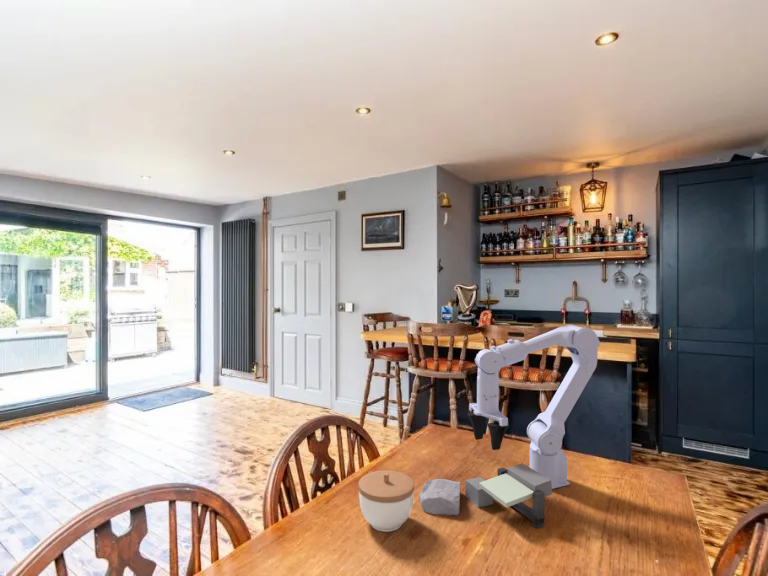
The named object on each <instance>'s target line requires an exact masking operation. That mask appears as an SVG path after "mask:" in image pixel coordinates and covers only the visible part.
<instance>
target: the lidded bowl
mask: <svg viewBox="0 0 768 576" xmlns="http://www.w3.org/2000/svg"><path fill="white" fill-rule="evenodd" d="M357 486H358V497H359V499H358V500H359V506H360V511H361V514H362V515H363V517H364V519H365V520H366V521H367V522H368V523H369V524H370V526H371V528H373V529H374V530H375V531H378V532H382V533H383V532H385V533H389V532H394V531H397V530H398V529H400V528H401V527H402V525H403V524H404V523H405V522H406V521H407V520H408V518H409V517H410V515H411V512H412V508H413V505H414V497H415V496H414V490H415V482H414V480H413V479H412V478H411V476H409V475H408V474H406V473H405V472H401V471H397V470H387V469H386V470H376V471H372V472H369V473H368V472H367V473H366V474H364V475H363V476H361V478H360V479H359V481H358V485H357Z"/></svg>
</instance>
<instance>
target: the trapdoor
mask: <svg viewBox="0 0 768 576" xmlns="http://www.w3.org/2000/svg"><path fill="white" fill-rule="evenodd" d="M506 469H507V474H506V473H505V474H502V475H500V476H498V475H497V476H495V477H492V478H488V479H486V480H485V479H484V480H485V481H483V482H480V483H479V487H480V488H481V489H483V490H484V491H485V492H487V493H488V494H489V495H491V496H492V497H493V499H495V501H498V502H499V503H500V504H501V505H502V506H504V507H505V508H506V509H507V508H509V507H513V506H512V505H515V504H517V503H520V502H525V501H528V500H530V499H533V492H534V491H538V490H540V491H542V492H544V493H545V497H544V498H546V497H549V496H551V495H553V489H552V485H551V480H550V479H548V478H547V477H545V476H543V475H542V474H540V473H538V472H536V471H535V470H533V469H531V468H530V466H528V465H526V464H524V463H519V464H517V465H514V466H510V467H507V468H506Z"/></svg>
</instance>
